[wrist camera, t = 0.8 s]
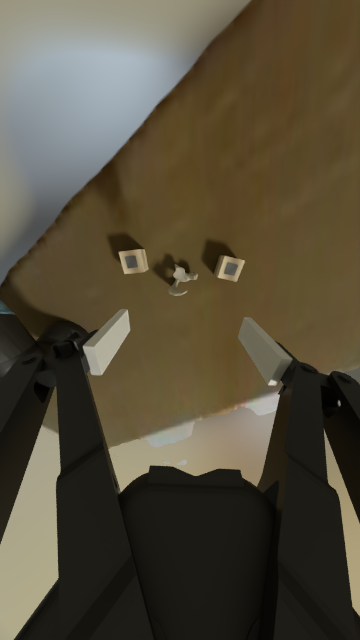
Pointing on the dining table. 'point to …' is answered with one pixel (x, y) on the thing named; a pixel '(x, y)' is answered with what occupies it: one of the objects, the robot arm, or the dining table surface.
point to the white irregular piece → (180, 276)
